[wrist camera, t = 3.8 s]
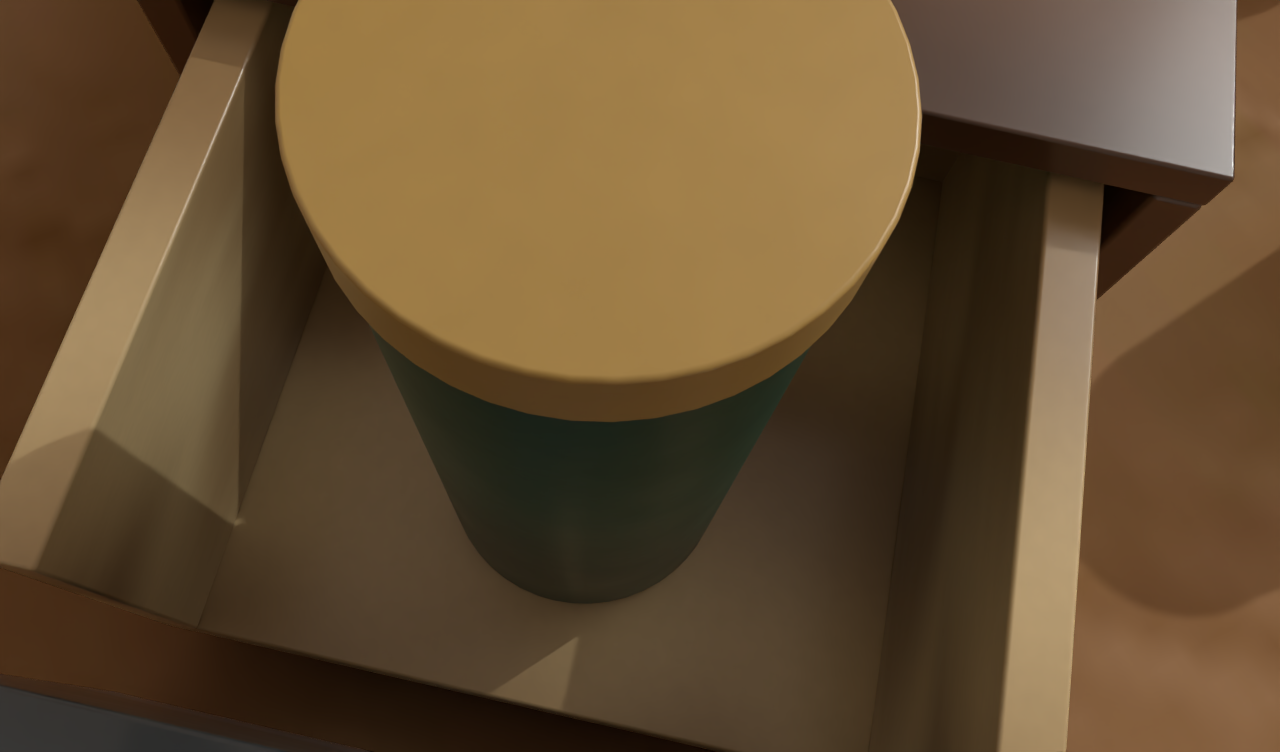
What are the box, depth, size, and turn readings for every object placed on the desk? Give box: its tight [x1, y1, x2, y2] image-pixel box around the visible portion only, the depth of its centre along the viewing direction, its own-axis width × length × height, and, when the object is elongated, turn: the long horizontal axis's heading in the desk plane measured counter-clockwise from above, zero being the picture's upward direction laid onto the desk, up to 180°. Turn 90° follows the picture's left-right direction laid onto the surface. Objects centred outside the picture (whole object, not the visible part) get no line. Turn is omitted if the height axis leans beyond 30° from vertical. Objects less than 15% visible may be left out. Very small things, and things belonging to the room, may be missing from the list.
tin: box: [275, 0, 922, 604], centre depth 13 cm, size 5×5×11 cm
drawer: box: [0, 0, 1104, 752], centre depth 16 cm, size 19×14×7 cm
